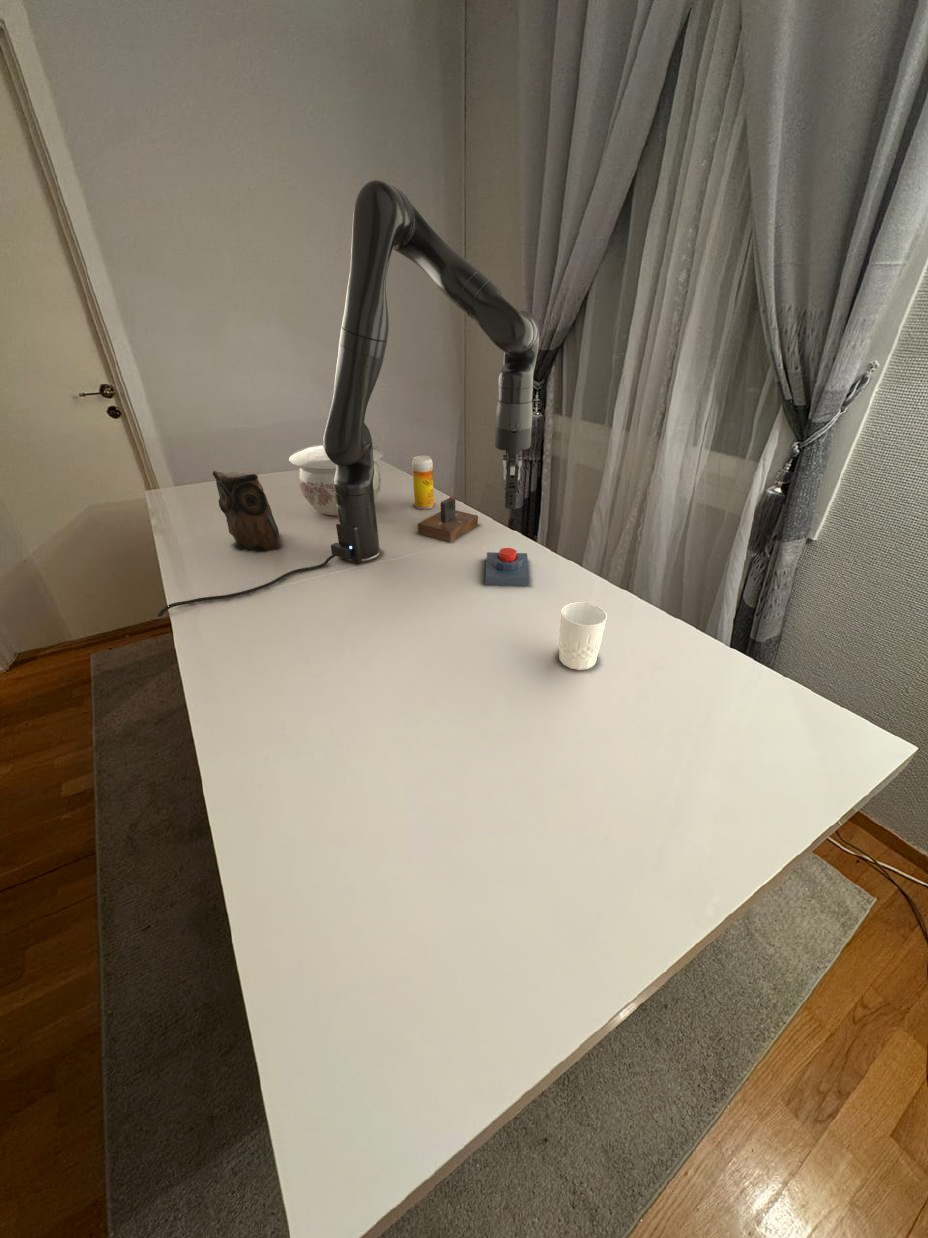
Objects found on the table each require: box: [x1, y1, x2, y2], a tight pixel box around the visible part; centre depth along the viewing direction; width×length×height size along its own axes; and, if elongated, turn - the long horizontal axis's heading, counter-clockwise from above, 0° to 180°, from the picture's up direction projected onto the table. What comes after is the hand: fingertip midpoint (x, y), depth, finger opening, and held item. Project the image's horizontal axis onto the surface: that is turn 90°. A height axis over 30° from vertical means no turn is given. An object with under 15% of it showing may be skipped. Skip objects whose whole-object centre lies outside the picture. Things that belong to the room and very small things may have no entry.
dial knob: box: [440, 496, 456, 522], centre depth 144 cm, size 5×2×6 cm, turn 146°
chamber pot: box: [288, 443, 385, 517], centre depth 156 cm, size 28×28×21 cm
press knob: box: [498, 547, 517, 562], centre depth 123 cm, size 4×4×2 cm
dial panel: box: [417, 509, 479, 543], centre depth 147 cm, size 14×11×3 cm
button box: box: [484, 551, 530, 587], centre depth 124 cm, size 13×10×4 cm
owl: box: [212, 470, 281, 553], centre depth 134 cm, size 13×13×20 cm
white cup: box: [558, 601, 608, 671], centre depth 93 cm, size 8×8×10 cm
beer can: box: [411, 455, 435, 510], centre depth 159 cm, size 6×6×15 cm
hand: (510, 503), depth 116 cm, fingers open, 5 cm apart
